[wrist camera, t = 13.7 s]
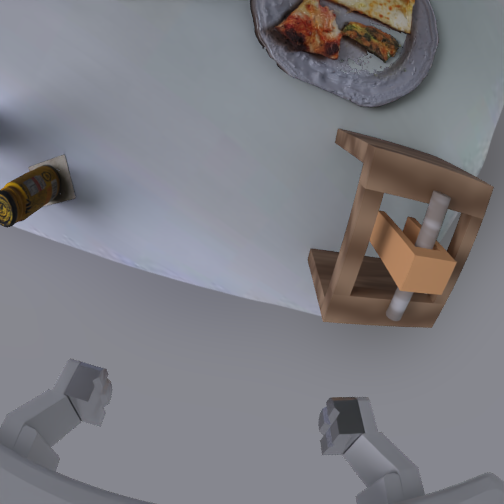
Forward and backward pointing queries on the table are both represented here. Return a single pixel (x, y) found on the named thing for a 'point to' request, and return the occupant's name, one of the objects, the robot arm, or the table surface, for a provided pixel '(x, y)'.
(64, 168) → the condiment
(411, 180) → the wooden slider frame
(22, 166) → the table surface
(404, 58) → the food plate
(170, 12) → the table surface
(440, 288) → the orange forked block
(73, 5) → the table surface
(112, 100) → the table surface
